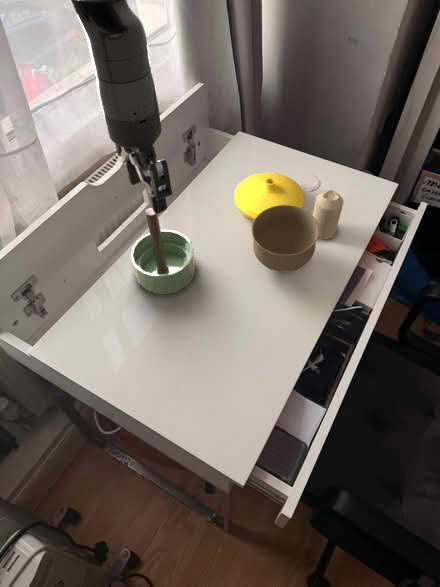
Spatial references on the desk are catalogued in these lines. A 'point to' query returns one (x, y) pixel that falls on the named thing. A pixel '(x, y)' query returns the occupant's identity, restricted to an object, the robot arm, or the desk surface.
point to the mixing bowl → (176, 257)
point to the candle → (327, 213)
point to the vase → (267, 193)
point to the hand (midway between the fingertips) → (148, 196)
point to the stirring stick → (157, 241)
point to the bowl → (284, 237)
